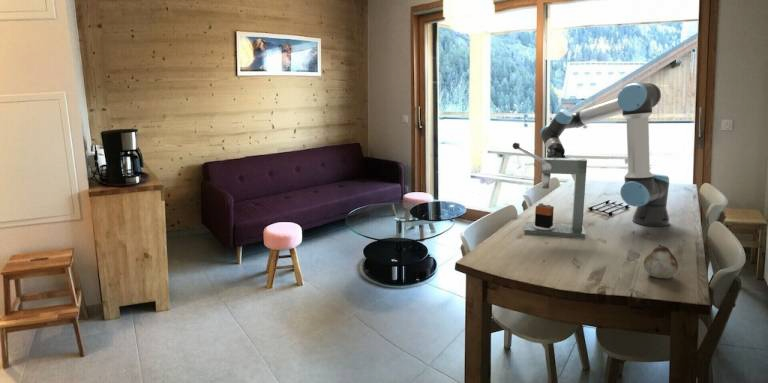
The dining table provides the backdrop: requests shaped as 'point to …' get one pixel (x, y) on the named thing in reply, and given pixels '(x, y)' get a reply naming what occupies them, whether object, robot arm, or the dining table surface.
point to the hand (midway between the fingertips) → (568, 176)
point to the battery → (544, 215)
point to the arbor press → (576, 228)
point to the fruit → (661, 263)
